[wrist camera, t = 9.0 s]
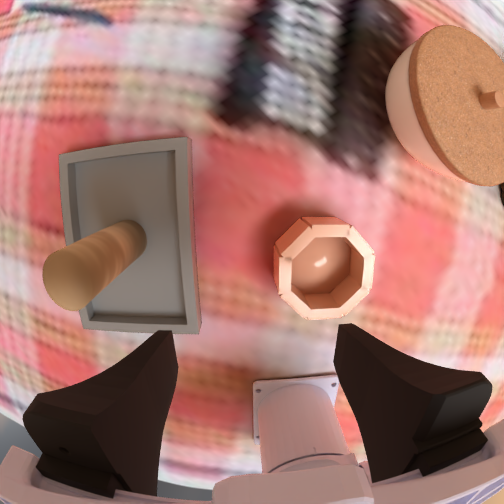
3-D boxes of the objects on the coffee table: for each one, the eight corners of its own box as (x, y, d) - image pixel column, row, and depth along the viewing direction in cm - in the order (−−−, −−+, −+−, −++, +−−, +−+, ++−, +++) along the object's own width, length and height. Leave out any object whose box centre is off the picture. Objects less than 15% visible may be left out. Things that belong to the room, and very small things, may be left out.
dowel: (149, 258, 21) (97, 311, 12) (113, 260, 21) (50, 310, 12) (144, 218, 20) (84, 249, 12) (108, 221, 20) (37, 253, 12)
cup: (353, 297, 23) (367, 315, 20) (273, 302, 23) (278, 321, 20) (359, 217, 21) (377, 224, 18) (273, 217, 21) (279, 225, 18)
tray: (201, 322, 23) (198, 334, 22) (92, 319, 23) (83, 328, 21) (191, 139, 20) (187, 136, 18) (70, 154, 19) (58, 154, 17)
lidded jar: (400, 34, 17) (463, -9, 8) (478, 119, 19) (551, 114, 10) (337, 115, 19) (400, 83, 10) (430, 204, 21) (509, 226, 12)
